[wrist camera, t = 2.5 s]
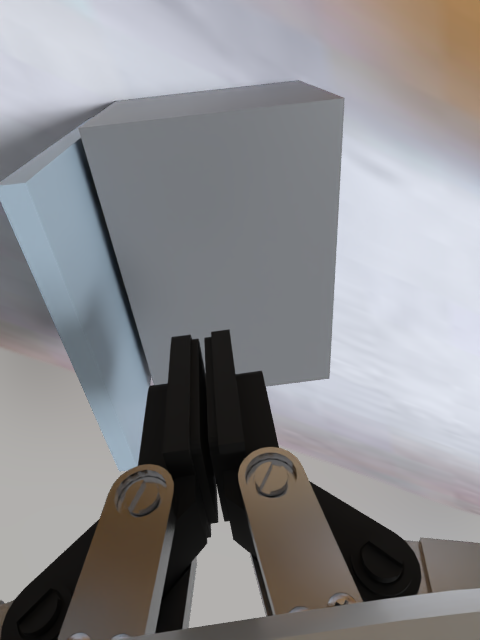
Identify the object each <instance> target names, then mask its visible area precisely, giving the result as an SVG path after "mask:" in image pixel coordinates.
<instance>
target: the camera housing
mask: <svg viewBox="0 0 480 640" xmlns="http://www.w3.org/2000/svg"><path fill="white" fill-rule="evenodd" d="M343 116H344V98H343V97H340V96H338V95H335V94H333V93H330V92H328V91H325V90H322V89H320V88H317V87H315V86H312V85H310V84H307V83H304V82H302V81H290V82H281V83H272V84H263V85H255V86H246V87H237V88H228V89H219V90H210V91H201V92H192V93H183V94H174V95H165V96H156V97H147V98H138V99H129V100H120V101H115V102H114V103H112V104H111V105H109V106H108V107H107V108H105V109H104V110H103V111H101V112H100V113H98V114H97V115H96V116H94V117H93V118H91V119H90V120H89V121H87V122H86V123H85V124H83V125H82V126H80V127H79V128H78V129H79V132H80V136H81V139H82V143H83V146H84V149H85V153H86V156H87V159H88V163H89V166H90V170H91V173H92V176H93V180H94V183H95V187H96V190H97V193H98V197H99V200H100V204H101V207H102V210H103V214H104V217H105V221H106V224H107V227H108V231H109V234H110V237H111V241H112V244H113V248H114V251H115V254H116V258H117V261H118V265H119V268H120V271H121V275H122V278H123V282H124V285H125V288H126V292H127V295H128V298H129V302H130V305H131V309H132V312H133V315H134V319H135V322H136V326H137V329H138V332H139V336H140V339H141V343H142V346H143V349H144V353H145V356H146V359H147V363H148V366H149V370H150V373H151V376H152V380H153V383H154V385H160V384H167V383H168V373H169V360H170V347H171V338H172V337H175V336H183V335H191V337H192V339H199V342H200V347H201V352H202V358H203V363H204V368H205V345H204V338H206V337H211V332H213V331H221V330H228V329H230V336H231V344H232V351H233V359H234V367H235V374H241V373H248V372H255V371H262V373H263V377H264V381H265V386H273V385H281V384H289V383H297V382H305V381H313V380H321V379H329V374H330V356H331V338H332V319H333V301H334V282H335V264H336V245H337V227H338V208H339V190H340V172H341V153H342V135H343ZM205 374H206V371H205Z"/></svg>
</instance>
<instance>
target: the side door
mask: <svg viewBox="0 0 480 640" xmlns="http://www.w3.org/2000/svg"><path fill="white" fill-rule="evenodd" d="M92 118H93V117H92ZM90 119H91V118H89V119H88V120H86V121H85V122H84V123H82V124H81V125H79V126H78V127H77V128H75V129H74V130H72V131H71V132H70V133H68V134H67V135H65V136H64V137H63V138H61V139H60V140H58V141H57V142H56V143H54V144H53V145H51V146H50V147H48V148H47V149H46V150H44V151H43V152H41V153H40V154H39V155H37V156H36V157H34V158H33V159H32V160H30V161H29V162H27V163H26V164H25V165H23V166H22V167H20V168H19V169H17V170H16V171H15V172H13V173H12V174H10V175H9V176H8V177H6V178H5V179H3V180H2V181H1V182H0V202H1V204H2V206H3V208H4V211H5V213H6V215H7V218H8V220H9V222H10V224H11V227H12V229H13V231H14V233H15V236H16V238H17V240H18V243H19V245H20V247H21V249H22V252H23V254H24V256H25V258H26V261H27V263H28V265H29V268H30V270H31V272H32V274H33V277H34V279H35V281H36V283H37V286H38V288H39V290H40V293H41V295H42V297H43V299H44V302H45V304H46V306H47V308H48V311H49V313H50V315H51V318H52V320H53V322H54V324H55V327H56V329H57V331H58V333H59V336H60V338H61V340H62V342H63V345H64V347H65V349H66V352H67V354H68V356H69V358H70V361H71V363H72V365H73V367H74V370H75V372H76V374H77V377H78V378H79V381H80V383H81V386H82V388H83V390H84V392H85V395H86V397H87V399H88V401H89V404H90V406H91V408H92V411H93V413H94V415H95V417H96V420H97V422H98V424H99V426H100V429H101V431H102V433H103V435H104V438H105V440H106V442H107V445H108V447H109V449H110V451H111V454H112V456H113V458H114V461H115V463H116V465H117V467H118V470H119V471H126V470H129V469H132V468H134V467H136V466H138V461H139V453H140V446H141V438H142V431H143V423H144V416H145V408H146V401H147V393H148V388H149V386H150V381H151V373H150V370H149V366H148V363H147V359H146V356H145V353H144V349H143V346H142V343H141V339H140V336H139V332H138V329H137V326H136V322H135V319H134V315H133V312H132V309H131V305H130V302H129V298H128V295H127V292H126V288H125V285H124V282H123V278H122V275H121V271H120V268H119V265H118V261H117V258H116V254H115V251H114V248H113V244H112V241H111V237H110V234H109V231H108V227H107V224H106V221H105V217H104V214H103V210H102V207H101V204H100V200H99V197H98V193H97V190H96V187H95V183H94V180H93V176H92V173H91V170H90V166H89V163H88V159H87V156H86V153H85V149H84V146H83V143H82V139H81V136H80V132H79V129H78V128H79V127H80V126H82V125H83V124H85V123H86V122H87V121H89V120H90Z"/></svg>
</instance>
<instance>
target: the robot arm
mask: <svg viewBox="0 0 480 640" xmlns="http://www.w3.org/2000/svg"><path fill="white" fill-rule="evenodd" d="M204 345H205V368H204V363H203V358H202V352H201V347H200V342H199V339H192V337H191V335H183V336H175V337H172V338H171V347H170V360H169V373H168V383H167V384H160V385H152V386H149V388H148V393H147V401H146V408H145V416H144V423H143V431H142V438H141V446H140V453H139V461H138V466H136V467H134V468H132V469H129V470H128V471H126V472H125V473H124V474H122V475H121V476H120V477H119V478H118V479H117V480H116V481H115V483H114V484H113V486H112V488H111V489H110V492H109V493H108V496H107V499H106V502H105V505H104V508H103V511H102V513H101V516H100V519H99V520H98V521H97V522H96V523H95V524H94V525H92V526H91V527H90V528H89V529H88V530H87V531H86V532H85V533H84V534H83V535H82V536H81V537H80V538H78V539H77V540H76V541H75V542H74V543H73V544H72V545H71V546H70V547H69V548H68V549H67V550H66V551H64V553H62V554H61V555H60V556H59V557H58V558H57V559H56V560H55V561H54V562H53V563H52V564H50V565H49V566H48V567H47V568H46V569H45V570H44V571H43V572H42V573H41V574H40V575H39V576H38V577H37V578H35V579H34V580H33V581H32V582H31V583H30V584H29V585H28V586H27V587H26V588H25V589H24V590H23V591H22V592H21V593H20V594H19V595H18V597H17V598H16V599H15V600H13V601H11V602H8V603H4V602H3V601H0V640H480V543H473V542H463V541H453V540H441V539H431V538H420V541H419V542H418V541H406V540H403V539H402V538H401V537H399V536H398V535H397V534H395V533H394V532H392V531H391V530H389V529H387V528H386V527H384V526H382V525H381V524H379V523H377V522H376V521H374V520H373V519H371V518H369V517H368V516H366V515H364V514H363V513H361V512H359V511H358V510H356V509H354V508H353V507H351V506H350V505H348V504H346V503H344V502H343V501H341V500H340V499H338V498H336V497H335V496H333V495H331V494H330V493H328V492H326V491H325V490H323V489H321V488H320V487H318V486H316V485H315V484H313V483H312V482H310V481H309V480H308V478H307V475H306V473H305V471H304V469H303V467H302V465H301V463H300V462H299V460H298V459H297V457H295V456H294V455H293V454H292V453H290V452H289V451H286V450H284V449H282V448H279V446H278V441H277V437H276V432H275V428H274V423H273V418H272V414H271V409H270V405H269V400H268V395H267V391H266V386H265V381H264V377H263V373H262V371H255V372H248V373H241V374H235V367H234V359H233V351H232V344H231V336H230V329H228V330H221V331H213V332H211V337H206V338H204ZM205 371H206V374H205ZM216 484H217V488H218V493H219V498H220V503H221V508H222V512H223V517H224V521H230V525H231V530H232V534H233V540H235V541H236V542H237V543H238V544H240V545H241V546H242V547H243V548H245V549H246V550H247V551H248V552H250V556H251V561H252V564H253V568H254V572H255V576H256V580H257V583H258V587H259V591H260V595H261V599H262V603H263V606H264V610H265V614H266V617H260V618H254V619H247V620H241V621H234V622H228V623H221V624H214V625H208V626H202V627H195V628H188V627H189V619H190V612H191V604H192V597H193V589H194V581H195V574H196V566H197V559H196V557H197V555H198V554H199V552H200V551H201V550H202V549H203V548H204V547H205V545H206V544H207V538H208V537H211V523H217V522H218V507H217V488H216Z"/></svg>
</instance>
